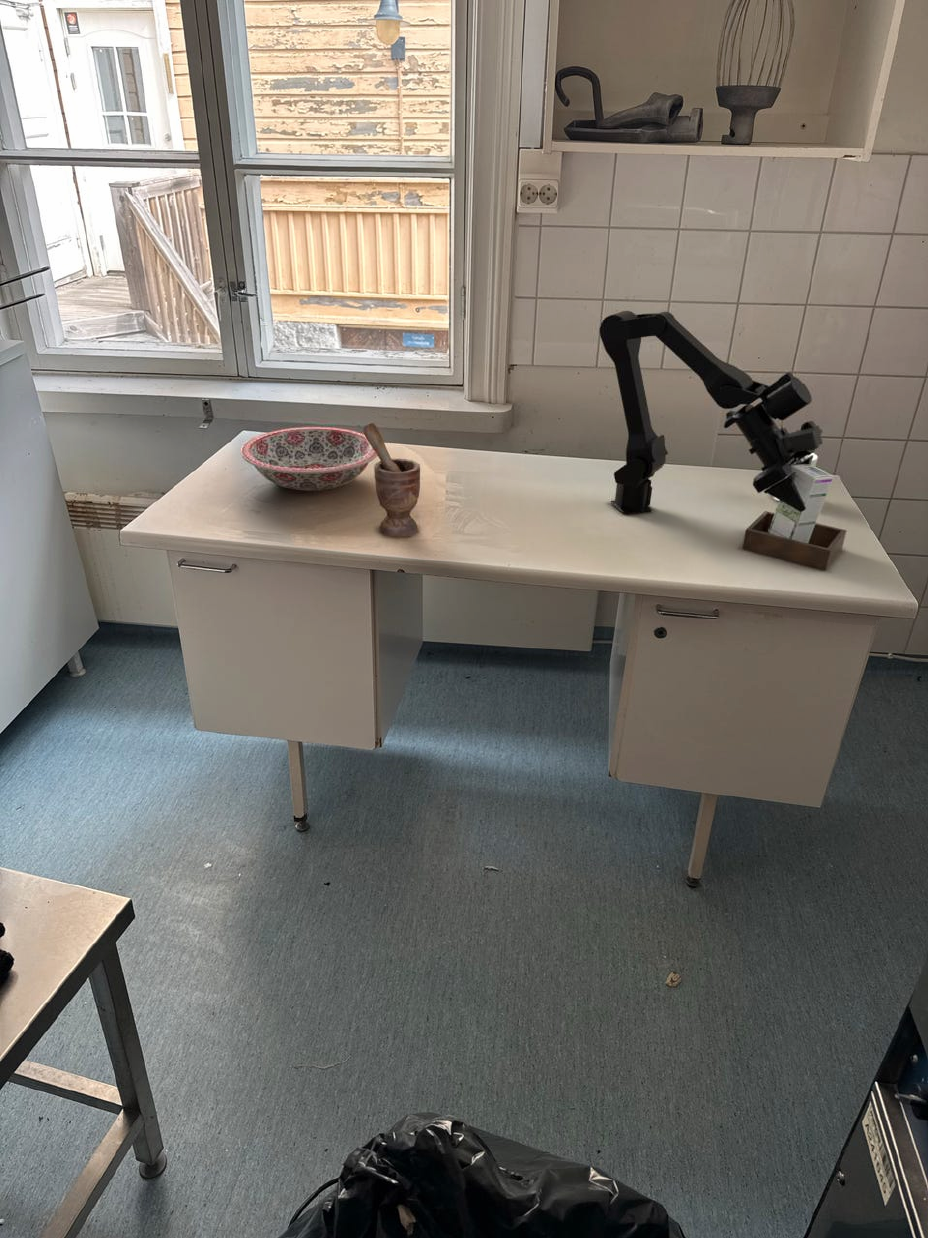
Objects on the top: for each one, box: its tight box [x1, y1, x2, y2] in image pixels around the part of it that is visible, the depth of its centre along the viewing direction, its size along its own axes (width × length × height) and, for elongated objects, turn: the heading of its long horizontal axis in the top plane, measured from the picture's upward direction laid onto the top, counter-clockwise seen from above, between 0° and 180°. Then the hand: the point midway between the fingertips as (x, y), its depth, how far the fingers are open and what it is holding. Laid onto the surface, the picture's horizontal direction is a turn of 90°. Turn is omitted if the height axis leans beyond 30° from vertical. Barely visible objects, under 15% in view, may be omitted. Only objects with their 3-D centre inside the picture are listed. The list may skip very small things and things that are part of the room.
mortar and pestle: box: [362, 422, 421, 537], centre depth 170 cm, size 12×9×20 cm
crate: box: [741, 510, 847, 571], centre depth 171 cm, size 16×12×4 cm
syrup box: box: [767, 464, 835, 544], centre depth 168 cm, size 6×6×14 cm
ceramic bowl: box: [240, 426, 378, 492], centre depth 193 cm, size 29×29×8 cm
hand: (809, 504), depth 167 cm, fingers closed on syrup box, 7 cm apart
